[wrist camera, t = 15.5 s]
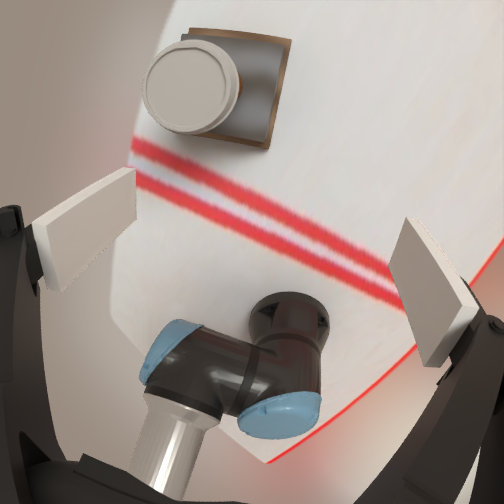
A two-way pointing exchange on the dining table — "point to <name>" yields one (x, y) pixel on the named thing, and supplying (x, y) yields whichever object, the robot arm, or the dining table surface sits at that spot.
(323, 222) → the dining table surface
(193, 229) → the dining table surface
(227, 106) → the disposable coffee cup
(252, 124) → the grey block on wood
